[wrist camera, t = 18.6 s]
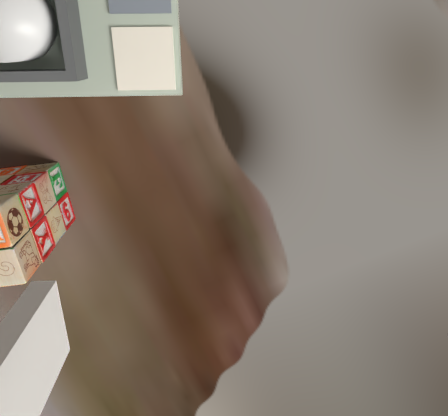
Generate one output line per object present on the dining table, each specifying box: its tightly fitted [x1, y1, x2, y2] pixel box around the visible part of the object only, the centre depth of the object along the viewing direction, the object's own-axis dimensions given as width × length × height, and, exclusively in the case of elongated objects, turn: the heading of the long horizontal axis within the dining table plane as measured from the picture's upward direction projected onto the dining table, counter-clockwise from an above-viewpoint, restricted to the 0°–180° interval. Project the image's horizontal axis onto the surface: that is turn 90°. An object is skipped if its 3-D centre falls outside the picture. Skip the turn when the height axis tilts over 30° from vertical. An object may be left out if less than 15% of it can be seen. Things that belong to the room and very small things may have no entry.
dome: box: [0, 0, 57, 63], centre depth 29 cm, size 6×6×4 cm
